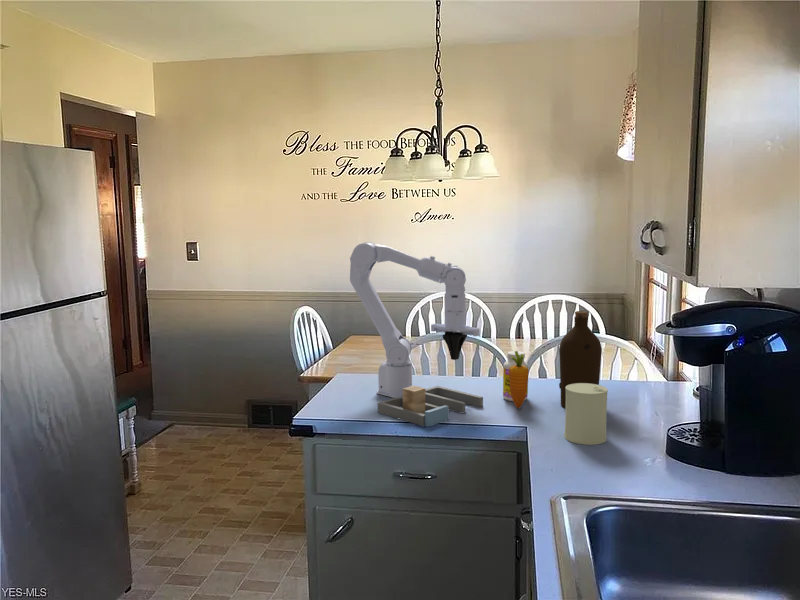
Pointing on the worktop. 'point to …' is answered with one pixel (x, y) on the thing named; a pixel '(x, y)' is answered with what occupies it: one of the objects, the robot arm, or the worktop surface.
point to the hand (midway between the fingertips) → (454, 359)
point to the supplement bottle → (506, 374)
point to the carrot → (518, 380)
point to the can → (586, 413)
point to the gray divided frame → (431, 406)
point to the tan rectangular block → (414, 399)
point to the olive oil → (579, 355)
